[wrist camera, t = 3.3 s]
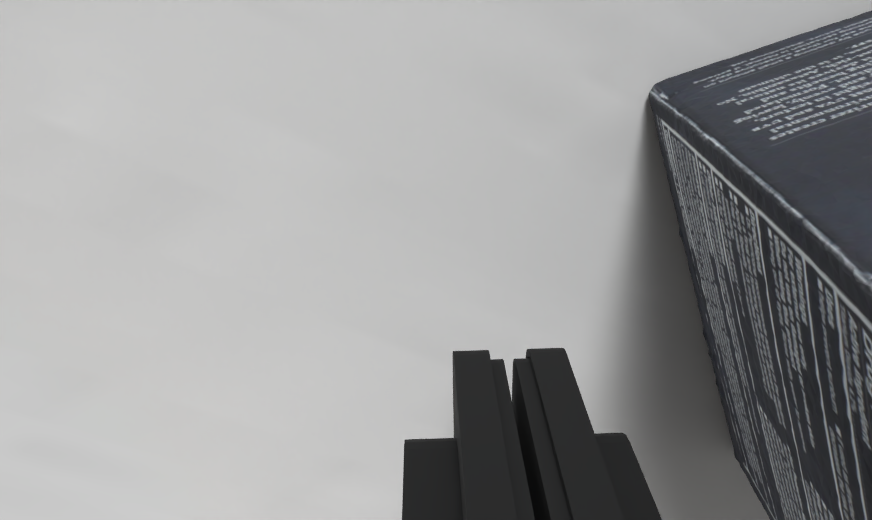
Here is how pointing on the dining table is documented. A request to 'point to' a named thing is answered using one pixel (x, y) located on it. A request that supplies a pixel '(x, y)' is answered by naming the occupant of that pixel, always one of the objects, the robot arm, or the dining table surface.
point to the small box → (784, 257)
